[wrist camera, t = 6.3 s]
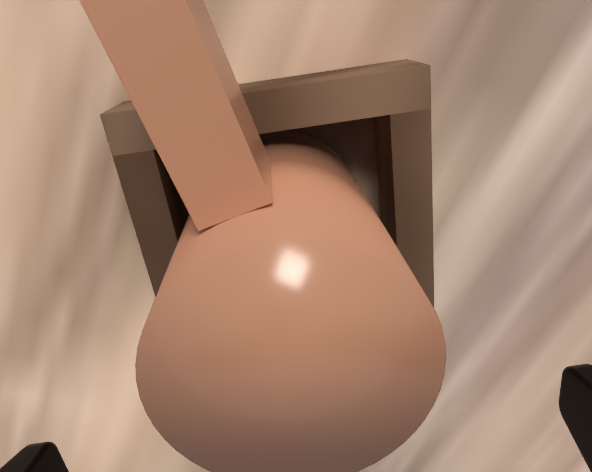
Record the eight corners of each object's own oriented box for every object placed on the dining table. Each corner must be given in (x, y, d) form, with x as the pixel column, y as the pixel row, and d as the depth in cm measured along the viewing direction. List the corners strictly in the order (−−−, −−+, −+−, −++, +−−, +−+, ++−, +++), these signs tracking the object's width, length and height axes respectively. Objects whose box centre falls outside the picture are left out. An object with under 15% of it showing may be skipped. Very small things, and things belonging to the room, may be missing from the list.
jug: (379, 252, 18) (474, 434, 10) (237, 304, 19) (217, 517, 11) (274, -58, 14) (288, -181, 6) (92, 22, 14) (-132, 14, 6)
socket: (407, 59, 15) (430, 65, 13) (415, 301, 19) (434, 336, 17) (123, 101, 15) (99, 114, 13) (189, 334, 19) (179, 373, 17)
